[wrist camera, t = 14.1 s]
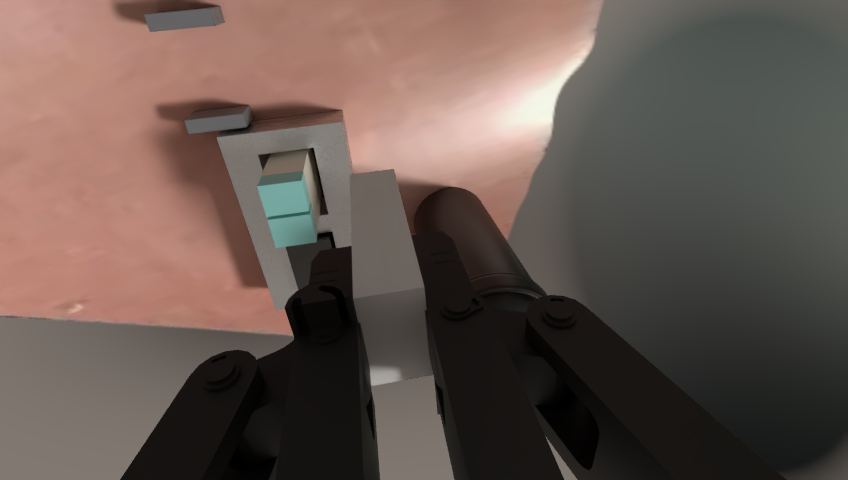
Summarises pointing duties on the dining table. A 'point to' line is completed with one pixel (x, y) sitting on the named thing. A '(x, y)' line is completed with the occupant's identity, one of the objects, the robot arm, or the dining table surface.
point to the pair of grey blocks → (192, 19)
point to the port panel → (332, 152)
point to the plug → (291, 197)
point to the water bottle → (479, 248)
